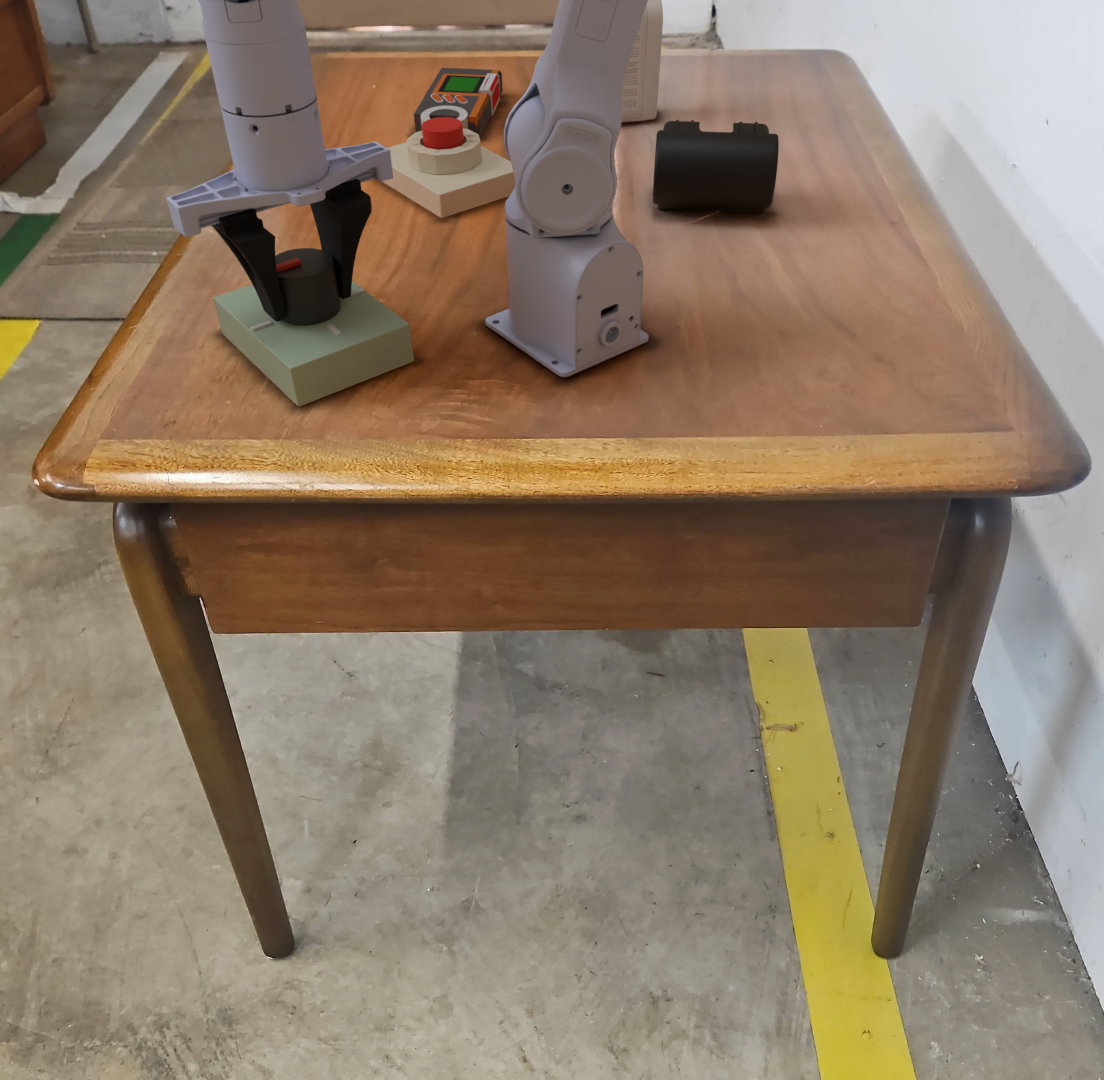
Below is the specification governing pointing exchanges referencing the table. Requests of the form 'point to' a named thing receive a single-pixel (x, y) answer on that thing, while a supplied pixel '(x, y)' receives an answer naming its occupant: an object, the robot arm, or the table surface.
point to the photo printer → (644, 67)
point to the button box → (450, 174)
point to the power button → (442, 133)
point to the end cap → (715, 168)
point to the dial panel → (317, 343)
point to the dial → (308, 286)
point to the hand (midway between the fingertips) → (307, 303)
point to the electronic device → (462, 97)
